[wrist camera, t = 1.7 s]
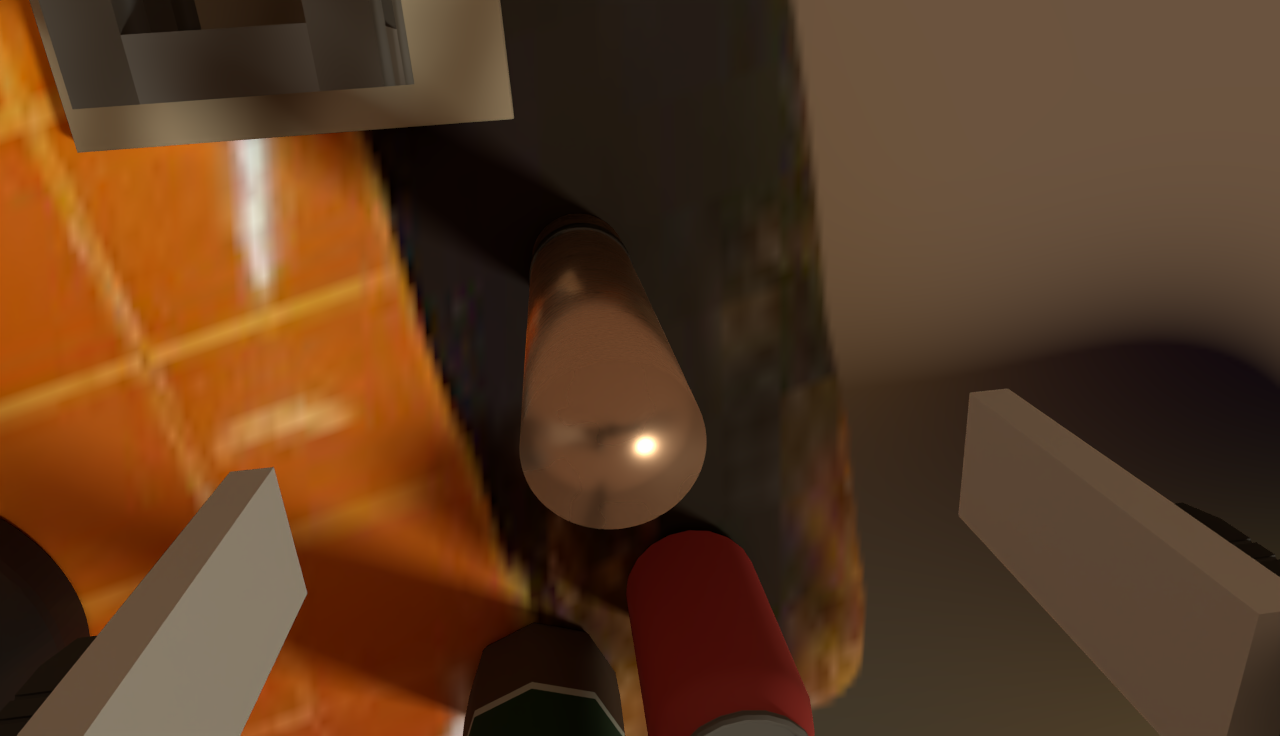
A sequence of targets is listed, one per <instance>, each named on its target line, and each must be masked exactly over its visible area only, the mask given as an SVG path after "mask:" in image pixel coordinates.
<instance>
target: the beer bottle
mask: <svg viewBox="0 0 1280 736" xmlns="http://www.w3.org/2000/svg"><path fill="white" fill-rule="evenodd" d="M463 736H625V732H624V724H623V716H622V708H621V700H620V694H619V689H618V684H617V679H616V674H615V672H614V670H613V669H612V667H611V666H610V664H609V663H608V662H607V660H606V659H605V657H604V656H603V654H602V653H601V652H600V650H599V649H598V647H597V646H596V644H595V643H594V642H593V640H592V639H591V637H590V636H589V634H587V633H586V632H583V631H578V630H572V629H567V628H561V627H556V626H550V625H545V624H539V623H532V624H530V625H528V626H526V627H524V628H522V629H520V630H518V631H516V632H514V633H512V634H510V635H509V636H507V637H505V638H503V639H501V640H499V641H497V642H495V643H493V644H491V645H489V646H487V647H486V648H485V649H484V650H483V653H482V656H481V659H480V663H479V666H478V669H477V673H476V676H475V679H474V682H473V686H472V689H471V692H470V696H469V701H468V706H467V712H466V717H465V722H464V730H463Z"/></svg>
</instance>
